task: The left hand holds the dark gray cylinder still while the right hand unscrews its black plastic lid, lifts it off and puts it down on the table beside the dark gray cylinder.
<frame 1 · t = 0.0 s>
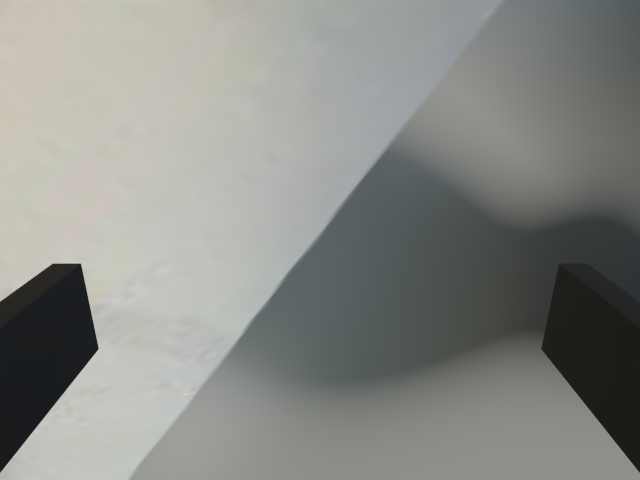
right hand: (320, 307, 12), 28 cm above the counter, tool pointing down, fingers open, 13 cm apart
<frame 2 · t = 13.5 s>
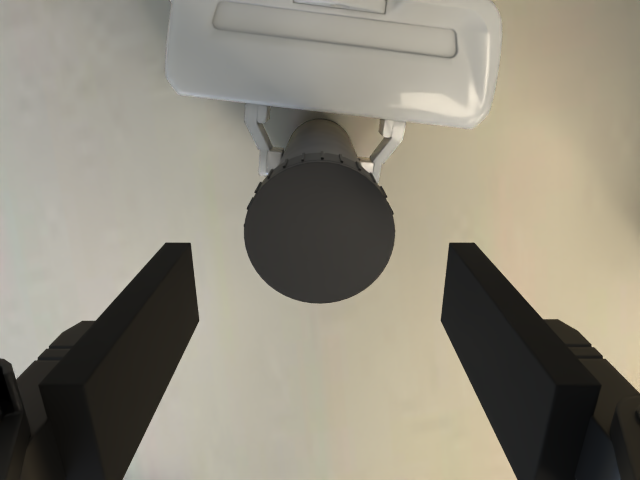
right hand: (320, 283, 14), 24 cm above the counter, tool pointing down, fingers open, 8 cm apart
dark gray cylinder: (319, 152, 36), on the counter, touching left hand
lid: (319, 234, 18), point 19 cm above the counter, screwed on, not yet turned
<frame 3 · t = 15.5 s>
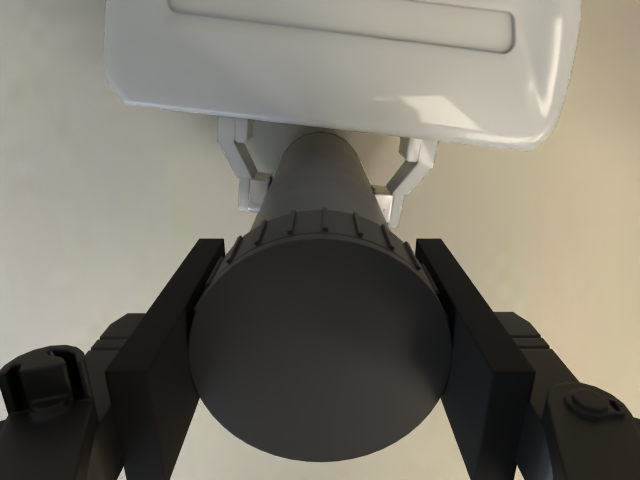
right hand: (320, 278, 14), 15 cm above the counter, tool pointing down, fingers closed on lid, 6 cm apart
dark gray cylinder: (320, 174, 29), on the counter, touching left hand
lid: (320, 353, 10), point 19 cm above the counter, screwed on, not yet turned, touching right hand
when the right hand's fingers open (16 cm above the counter, at t = 16.9 s): lid stays where it is, point 20 cm above the counter.
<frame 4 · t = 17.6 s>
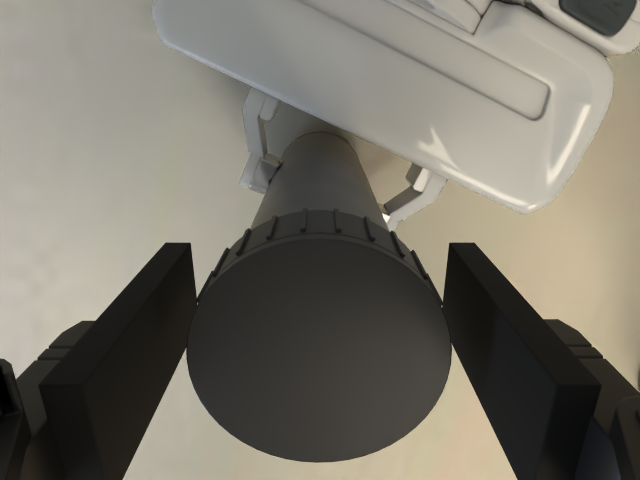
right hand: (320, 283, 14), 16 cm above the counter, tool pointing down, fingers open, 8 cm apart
left hand: (313, 214, 23), fingers closed on dark gray cylinder, 5 cm apart
dark gray cylinder: (319, 173, 29), on the counter, touching left hand
lid: (319, 353, 10), point 20 cm above the counter, turned 99° so far, risen 0.2 cm, still on its thread
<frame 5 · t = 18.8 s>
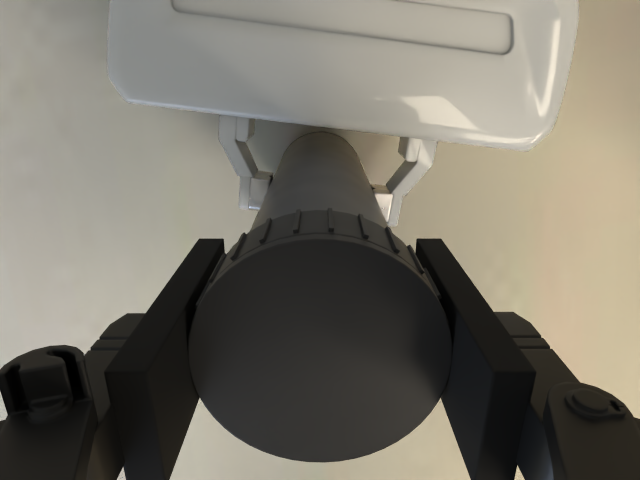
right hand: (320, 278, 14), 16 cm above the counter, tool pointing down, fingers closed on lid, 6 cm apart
dark gray cylinder: (320, 173, 29), on the counter, touching left hand
lid: (320, 353, 10), point 20 cm above the counter, turned 99° so far, risen 0.2 cm, still on its thread, touching right hand
when the right hand's fingers open (0 cm above the counter, at t = 25.4 s): lid drops 1 cm, point 2 cm above the counter.
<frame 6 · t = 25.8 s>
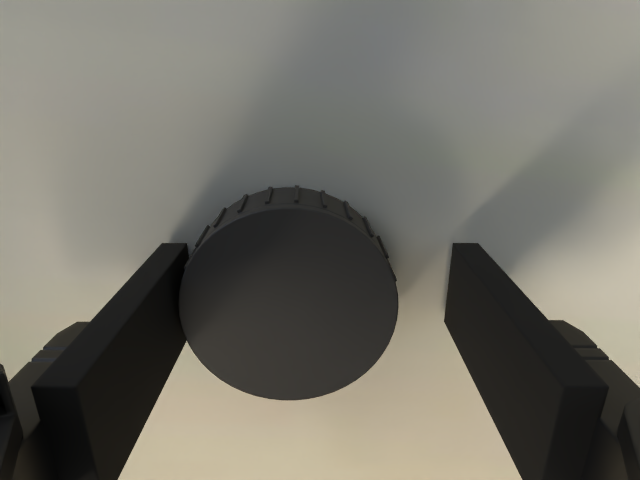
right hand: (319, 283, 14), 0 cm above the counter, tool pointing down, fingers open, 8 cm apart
lid: (289, 306, 13), point 2 cm above the counter, off its thread
when the left hand's fingers open (6 cm above the counter, at t = 26.6 s): dark gray cylinder stays where it is, on the counter.
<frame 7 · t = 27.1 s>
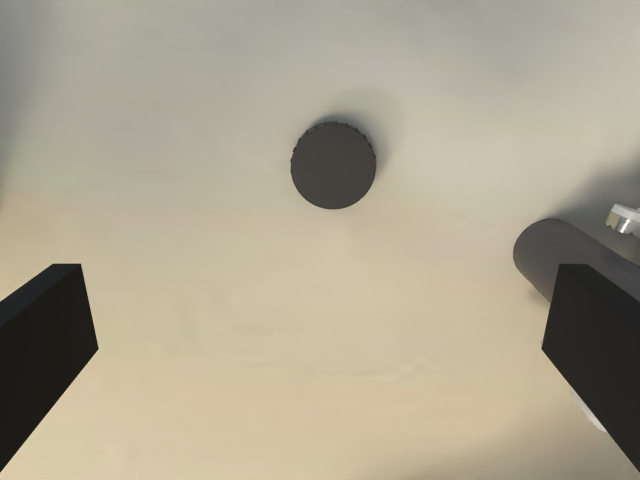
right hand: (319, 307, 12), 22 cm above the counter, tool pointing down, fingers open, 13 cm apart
dark gray cylinder: (546, 250, 36), on the counter
lid: (333, 167, 32), point 2 cm above the counter, off its thread
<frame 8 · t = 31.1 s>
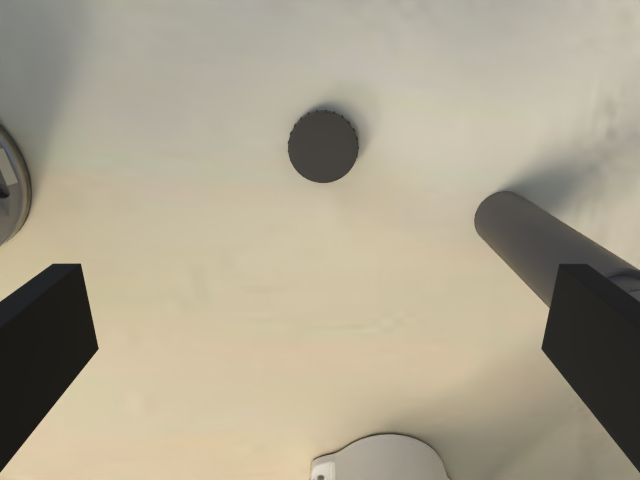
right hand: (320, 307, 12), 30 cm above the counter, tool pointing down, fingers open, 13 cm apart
dark gray cylinder: (501, 218, 43), on the counter
lid: (323, 148, 39), point 2 cm above the counter, off its thread
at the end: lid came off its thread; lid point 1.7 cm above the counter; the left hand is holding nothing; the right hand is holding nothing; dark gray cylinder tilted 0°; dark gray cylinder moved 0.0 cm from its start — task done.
